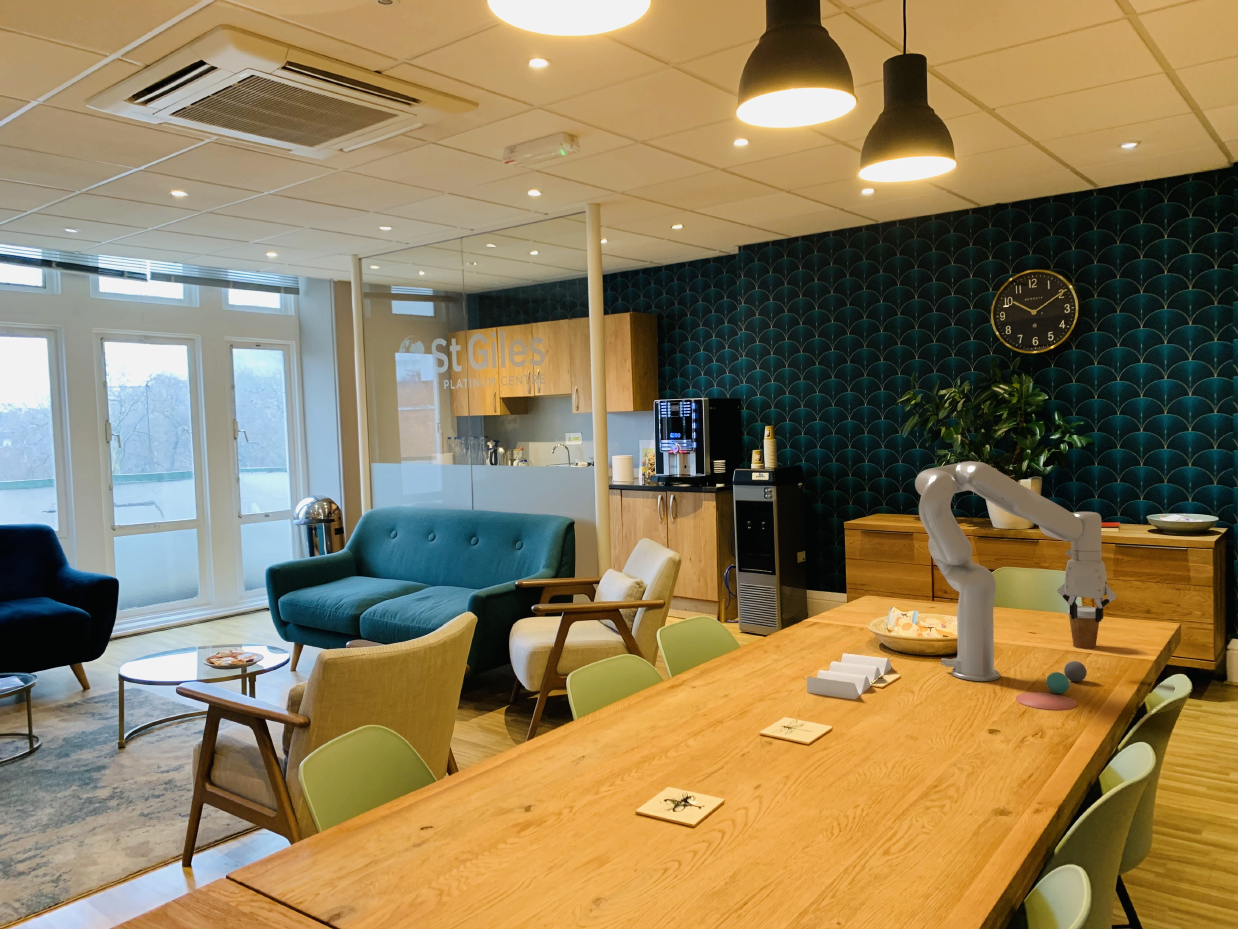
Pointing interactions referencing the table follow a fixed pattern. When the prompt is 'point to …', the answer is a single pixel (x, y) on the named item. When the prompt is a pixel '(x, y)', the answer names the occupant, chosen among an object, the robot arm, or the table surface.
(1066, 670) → the gray ball
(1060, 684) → the object ball
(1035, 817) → the table surface
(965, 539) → the robot arm
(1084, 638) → the disposable coffee cup
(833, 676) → the white taco holder
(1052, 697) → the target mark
